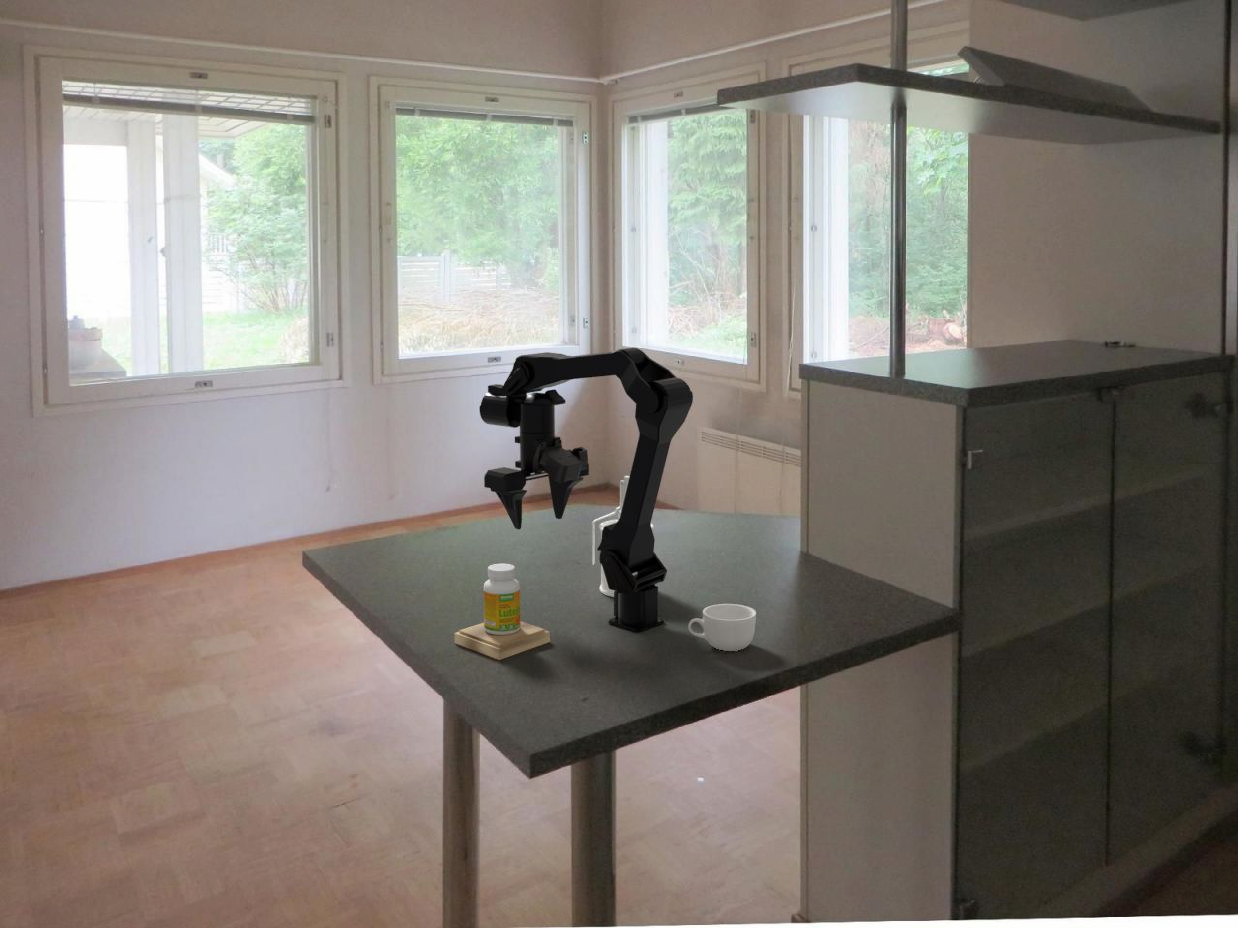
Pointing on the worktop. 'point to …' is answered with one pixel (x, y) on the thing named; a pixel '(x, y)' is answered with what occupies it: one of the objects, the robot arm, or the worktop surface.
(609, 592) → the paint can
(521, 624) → the beige square tray
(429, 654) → the worktop surface
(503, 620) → the supplement bottle
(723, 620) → the teacup
